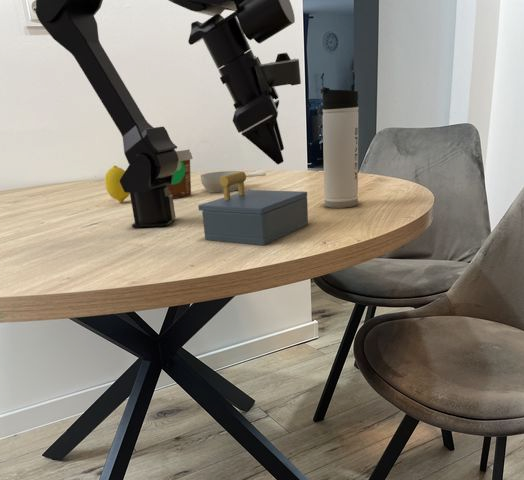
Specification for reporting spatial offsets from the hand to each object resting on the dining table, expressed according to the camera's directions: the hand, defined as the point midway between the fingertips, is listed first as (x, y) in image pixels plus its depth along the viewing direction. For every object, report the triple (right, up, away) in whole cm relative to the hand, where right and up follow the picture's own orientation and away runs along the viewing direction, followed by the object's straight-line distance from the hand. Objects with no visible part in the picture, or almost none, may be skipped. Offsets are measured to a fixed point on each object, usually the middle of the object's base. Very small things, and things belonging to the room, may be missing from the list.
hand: (281, 156), depth 84 cm
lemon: (-35, +2, +33) cm, 48 cm away
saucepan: (-10, +7, +39) cm, 41 cm away
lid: (-4, -9, -4) cm, 10 cm away
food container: (-25, +3, +35) cm, 43 cm away
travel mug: (+12, -4, +13) cm, 18 cm away
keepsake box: (-4, -13, -2) cm, 14 cm away
